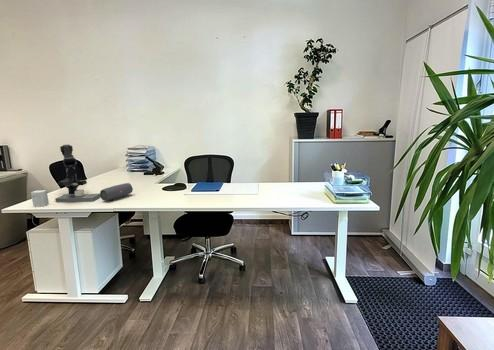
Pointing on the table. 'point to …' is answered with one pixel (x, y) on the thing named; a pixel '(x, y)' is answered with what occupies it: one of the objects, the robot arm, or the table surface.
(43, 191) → the small box
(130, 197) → the table surface
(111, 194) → the bluetooth speaker
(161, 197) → the table surface
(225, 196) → the table surface
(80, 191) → the fader tab
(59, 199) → the console
